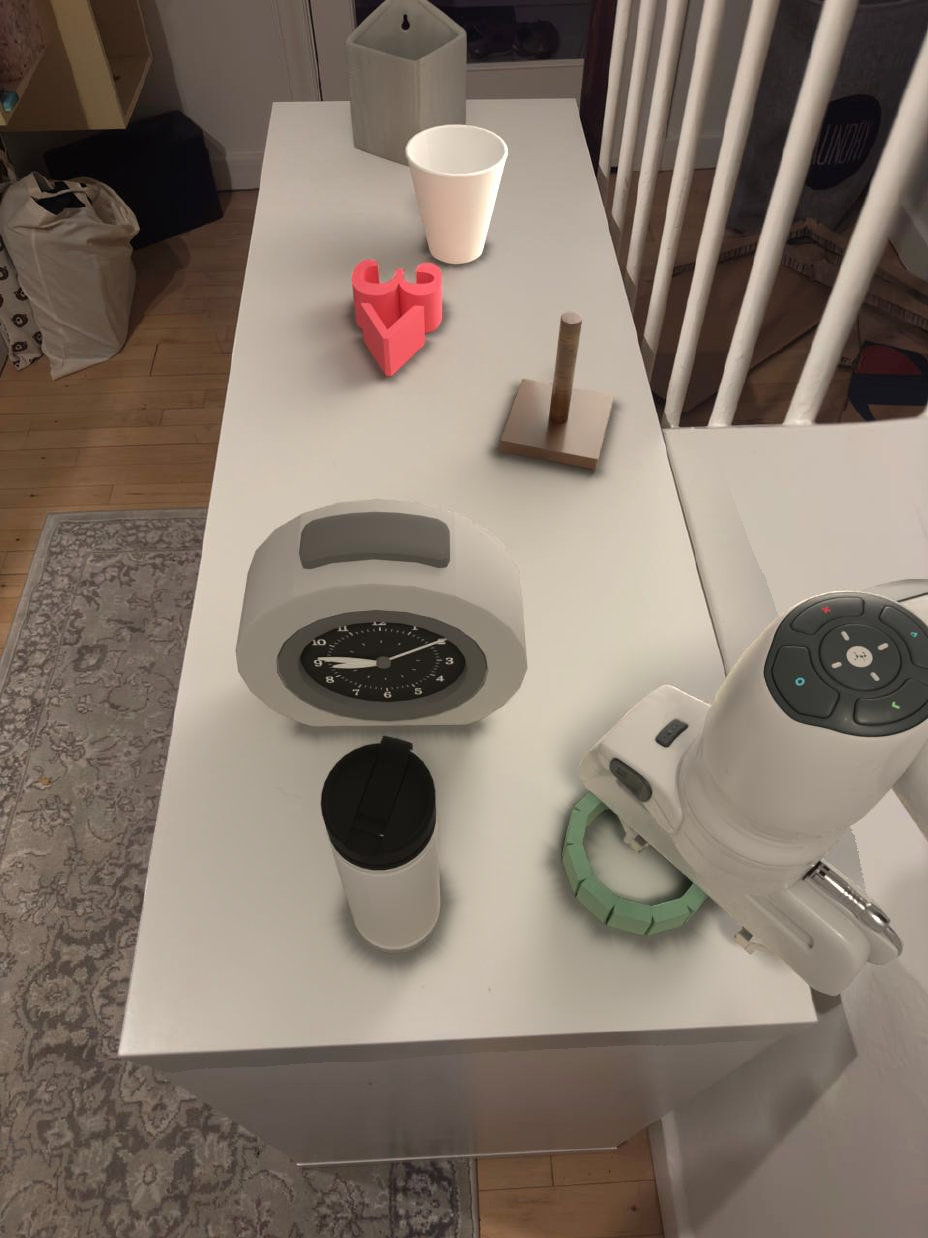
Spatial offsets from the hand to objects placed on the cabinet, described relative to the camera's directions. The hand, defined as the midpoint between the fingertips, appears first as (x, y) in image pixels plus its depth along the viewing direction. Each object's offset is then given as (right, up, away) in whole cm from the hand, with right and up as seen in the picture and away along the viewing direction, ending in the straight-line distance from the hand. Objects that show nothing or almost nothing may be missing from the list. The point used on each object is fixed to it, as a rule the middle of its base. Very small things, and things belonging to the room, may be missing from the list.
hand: (690, 888), depth 60 cm
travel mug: (-20, -2, +2) cm, 21 cm away
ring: (-3, +1, +4) cm, 5 cm away
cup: (-17, +66, +50) cm, 84 cm away
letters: (-24, +51, +40) cm, 69 cm away
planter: (-23, +85, +64) cm, 108 cm away
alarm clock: (-22, +13, +13) cm, 28 cm away
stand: (-6, +39, +31) cm, 50 cm away
